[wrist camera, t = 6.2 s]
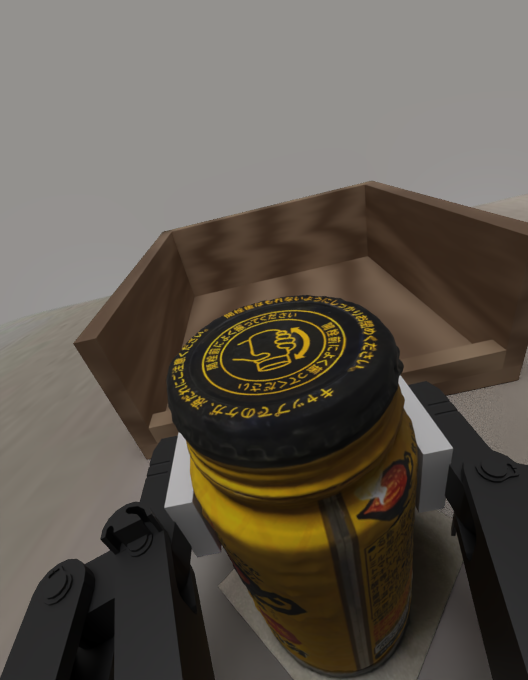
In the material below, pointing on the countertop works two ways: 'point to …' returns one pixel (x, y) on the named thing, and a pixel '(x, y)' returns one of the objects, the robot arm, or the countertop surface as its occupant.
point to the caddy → (323, 290)
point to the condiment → (315, 486)
